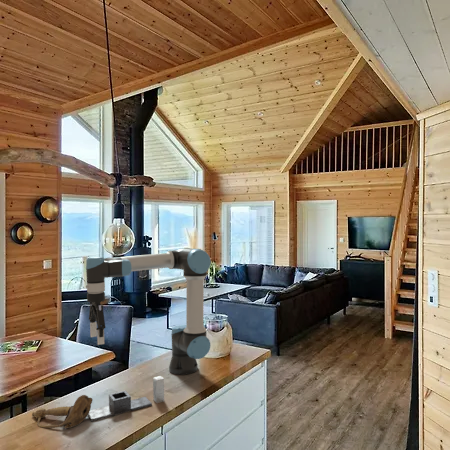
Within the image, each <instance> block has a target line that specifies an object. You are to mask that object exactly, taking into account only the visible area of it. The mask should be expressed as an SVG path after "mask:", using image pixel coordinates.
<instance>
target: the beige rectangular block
mask: <svg viewBox="0 0 450 450" xmlns="http://www.w3.org/2000/svg"><path fill="white" fill-rule="evenodd" d="M152 388H153V390H152V391H153V393H152V395H153V396H152V397H153V402H155V403H156V404H158V403H162V402H165V378H164V377H163V376H161V375H159V376H154V377H153V378H152Z"/></svg>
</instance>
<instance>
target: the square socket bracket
mask: <svg viewBox="0 0 450 450" xmlns="http://www.w3.org/2000/svg"><path fill="white" fill-rule="evenodd" d="M152 406H153V404H152V402H151V401H150V400H149V399H148V398H147V396H142V397H139V398H136V399H135V398H134V399H132V396H131V395H130V394H129V392H127V390H121V391H118V392H117V391H116V392H113V393H110V394H108V405H107V406H103V407H99V408H98V407H97V408H95V409H90V412H89V414H88V415H87V417H88V418H89V420H90V422H92V423H93V422H95V421H99V420H103V419H107V418H110V417H114V416H116V415H120V414H124V413H128V412H133V411H137V410H141V409H145V408H149V407H152Z"/></svg>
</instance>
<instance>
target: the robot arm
mask: <svg viewBox="0 0 450 450" xmlns="http://www.w3.org/2000/svg"><path fill="white" fill-rule="evenodd" d="M211 261H212V260H211V256H210V255H209V254H208V253H207V252H206V250H202V249H200V248H189V247H184V248H179V249H175V250H168V251H166V252H162V253H152V254H151V253H150V254H141V255H140V254H139V255H131V256H130V255H129V256H127V255H126V256H120V257H105V258H104V256H91V257H87V258H86V261H85V262H86V263H85V264H86V265H85V269H86V270H85V272H86V274H85V275H86V285H85V288H86V292H87V294H86V302H88V303H89V313H88V314H89V315H88V320H89V322H90V323H89V327H90V328H89V329H90V331H89V332H90V333H89V334H90V336H89V337H90V338H94V337H95V338H97V346H99V345H105V329H106V328H107V327H106V323H105V322H106V321H105V316H104V315H105V313H104V305H103V304H101V302H104V301H105V300H106V294H105V293H106V292H105V291H106V282H105V281H106V278H107V279H108V278H114V277H115V278H116V277H117V278H119V277H127V276H130V275H131V273H132V272H139V271H147V270H156V269H157V270H158V269H169V270H183V277H184V278H185V279H186V304H185V305H186V309H185V310H186V313H185V314H186V317H185V318H186V320H185V321H186V323H185V324H184V325H177V326H174V327H172V328H171V358H170V362H169V365H168V371H169V372H170V373H171V374H174V375H189V374H193V373H195V372H197V371H198V369H199V367H198V362H197V360H200V359H203V358H205V357H206V356H207V355H208V353H209V352H210V350H211V341H210V339H209V338H208V337H207V336H208V335H207V333H208V332H207V331H208V330H207V328H206V327H205V326H204V298H205V297H204V291H205V289H204V287H205V286H204V285H205V283H204V281H205V280H204V279H205V278H206V277H207V273H208V270H209V269H210V267H211V265H212V264H211Z"/></svg>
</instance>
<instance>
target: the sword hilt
mask: <svg viewBox="0 0 450 450" xmlns="http://www.w3.org/2000/svg"><path fill="white" fill-rule="evenodd" d="M92 403H93V398H92V397H89V396H88V395H86V394H81V395H80V396H78V397H77V398H76V400H75V402H74V404H73V405H71V406H66V405H65V406H58V407H53V408H48V409H46V408H39V409H37V410H35V411H33V412H32V413H31V416H32V418H33V417H35V420H37V424H36V425H37V427H39V428H45V429H53V428H54V429H55V428H60V427H62V426H64V429H69V428H73V427H76V426H78V425H80V424H81V423H83V422H84V421H85V420H86V418H88V414H89V412H90V410H92V409H91V407H92ZM46 416H54V417H65V418H64V421H62V423H60V424H51V425H48V424H47V425H44V424H43V425H42V424H40V422H41V420H42V419H44V418H45V417H46Z"/></svg>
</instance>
